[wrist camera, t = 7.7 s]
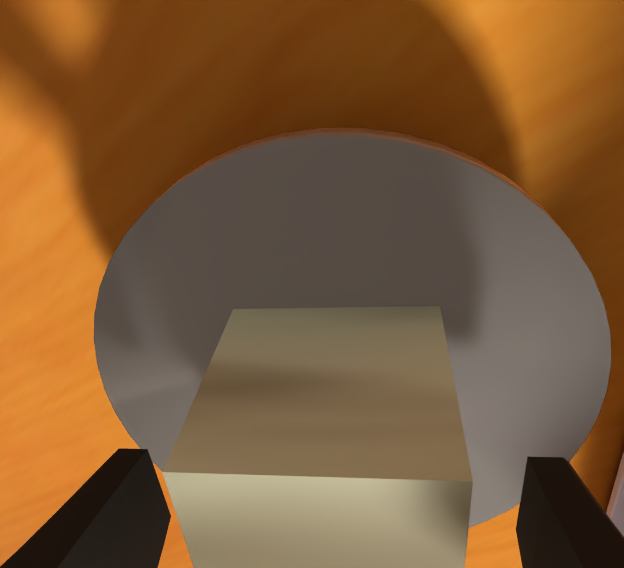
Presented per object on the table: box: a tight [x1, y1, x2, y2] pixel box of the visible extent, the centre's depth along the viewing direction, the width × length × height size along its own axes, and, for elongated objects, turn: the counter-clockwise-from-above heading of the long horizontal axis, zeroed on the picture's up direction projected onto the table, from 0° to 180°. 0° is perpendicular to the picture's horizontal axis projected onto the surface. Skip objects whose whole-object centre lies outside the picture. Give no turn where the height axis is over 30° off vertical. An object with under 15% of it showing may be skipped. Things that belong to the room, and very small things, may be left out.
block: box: [163, 306, 473, 568], centre depth 11 cm, size 4×4×4 cm
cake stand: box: [94, 128, 611, 528], centre depth 14 cm, size 12×12×4 cm
